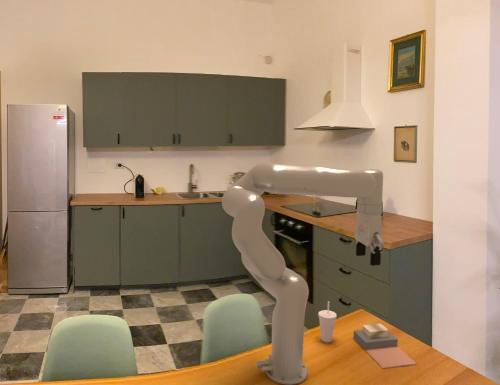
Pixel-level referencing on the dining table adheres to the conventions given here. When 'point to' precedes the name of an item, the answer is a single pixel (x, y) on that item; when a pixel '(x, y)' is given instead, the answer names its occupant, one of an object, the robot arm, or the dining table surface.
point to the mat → (390, 357)
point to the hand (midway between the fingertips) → (367, 260)
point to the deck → (374, 341)
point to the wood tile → (375, 331)
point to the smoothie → (327, 324)
